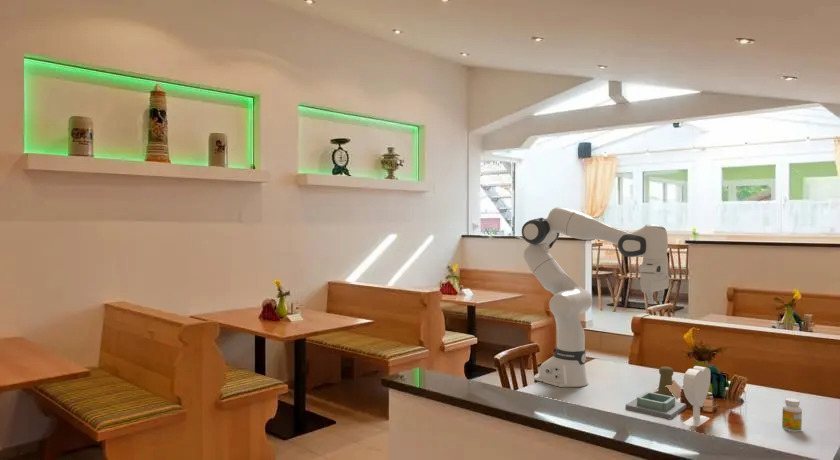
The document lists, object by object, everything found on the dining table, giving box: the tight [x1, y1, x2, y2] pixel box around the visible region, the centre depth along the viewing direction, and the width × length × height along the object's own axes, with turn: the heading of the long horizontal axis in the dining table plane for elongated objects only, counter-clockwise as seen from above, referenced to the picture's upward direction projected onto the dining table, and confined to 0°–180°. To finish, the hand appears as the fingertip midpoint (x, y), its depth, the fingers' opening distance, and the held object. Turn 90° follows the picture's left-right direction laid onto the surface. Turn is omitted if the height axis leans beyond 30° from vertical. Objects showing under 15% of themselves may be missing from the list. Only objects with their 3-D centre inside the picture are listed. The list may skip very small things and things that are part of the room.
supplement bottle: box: [781, 397, 803, 432], centre depth 197 cm, size 5×5×10 cm
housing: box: [625, 391, 687, 420], centre depth 217 cm, size 16×16×4 cm
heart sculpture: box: [682, 365, 712, 428], centre depth 204 cm, size 16×5×18 cm, turn 136°
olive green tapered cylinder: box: [657, 366, 674, 397], centre depth 233 cm, size 6×6×11 cm
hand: (655, 302), depth 231 cm, fingers open, 8 cm apart
